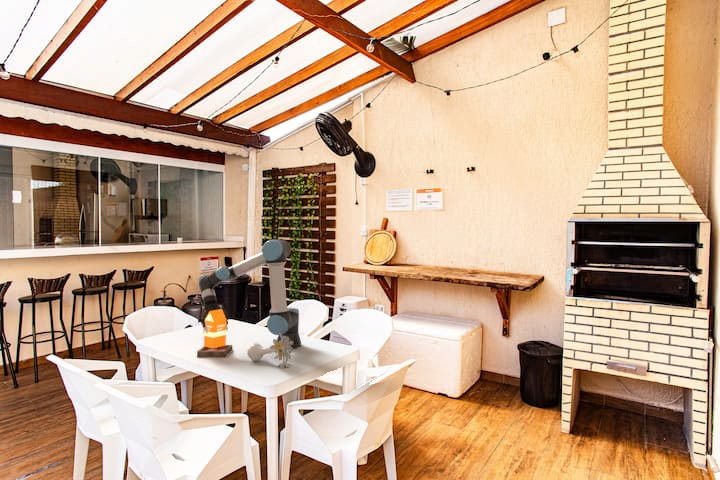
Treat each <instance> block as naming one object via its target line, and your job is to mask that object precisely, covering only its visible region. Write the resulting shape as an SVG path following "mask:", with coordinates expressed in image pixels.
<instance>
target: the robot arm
mask: <svg viewBox="0 0 720 480" xmlns="http://www.w3.org/2000/svg"><path fill="white" fill-rule="evenodd" d="M291 248H292V247H291V245H290V243H289V242H288V241H287V240H285V239H269V240H268V241H267V240H266V242H265V243H264V244H263V246H262V248H261V252H259V253H258V254H255V255H253V256H251V257H249V258H247V259H245V260H243V261H241V262H238V263H237V264H234V265H232V266H230V267H225V266H220V267H218V268H217V269H216V270H214V271H213V272H212V273H211V274H203V275H200V276H199V278H198V286H199V289H200V293H201V294H200V295H201V298H202V304H203V305H199V307H198V311H199V313H198V319H197V323H201V326H202V328H205V332H206V333H208V327H207V322H206V321H205V319H206V317H207V315H208V313H209V312H210V311H214V310H219V309H222V310H223V313H224V315H225V318H226V325H225V331H226V332H228V329H229V327H228V324H229V320H230V318H231V316H230V313H229V312H228V311H227V309H226V308H225V304H224V303H221V304H218V303H219V302H218V299H217V296H216V295H217V294H216V291H215V287H217V286H218V285H220V284H222V282H223V283H224V282H228V281H234V280H236V279H238V278H239V277H240V276H243V275H245V274H247V273H249V272H252V271H253V270H254V271H255V270H256V269H258V268H260V267H262V266H265V265H266V266H268V271H269V272H268V273H269V275H268V277H269V287H270V288H269V289H270V304H271V308H270V310H269V318H268V320H267V322H266V326H267V327H266V328H267V330H268V331H269V332H270V333H271V334H272V335H275V336H277V338H276V340H277V342H279V341H280V340H281V337H280V335H279V333H280V334H282V337H283V336H286V337H289V342H290V341H293V342H294V343H293V344H292V345H290V346H291V347H292V349H293V350H294V349H298V348H300V347H301V346H302V340H301V337H300V334H299V333H300V332H299V329H300V328H299V324H300V310H299V308H295V307H287V306H288V303H287V291H286V290H287V289H286V276H285V265H286V263H287V258H288V257H289V256H290V254H291V250H292V249H291ZM204 310H205V313H204V316H203V317H202V315H203V311H204ZM284 341H285V340H283V343H284Z"/></svg>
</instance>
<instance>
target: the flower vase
mask: <svg viewBox="0 0 720 480" xmlns="http://www.w3.org/2000/svg"><path fill="white" fill-rule="evenodd" d="M279 335H280V337H281V340H280V341H279V342H277V338H276V339H275V338H273V340H272V342H273V345H270V346H269V347H264V346H263V345H261V344H260V343H253V344H251V346H250V347H249V348H248V349H247V356H248V358H249V359H250V360H252V362H259V361H261V360H262V359H263V358H264V356H265V355H268V354H272V353H273V354H276V355H275V356H274V358H273V359H275V360H276V359H278V361H282V362H281V363H279V364H277V365H276V367H279V369H284V368H285V367H286V368H291V364H290V363H288V361H289V359H292V357H293V356H292V353H293V352H294V351H295V350H294V348H293V349H292V347H291V346H290V345H292V344H293V343H294V342H293V341H290V342H289V337H286V336H283V337H282V334H280V333H279ZM283 340H285V341H284V343H283ZM282 359H283V360H282Z"/></svg>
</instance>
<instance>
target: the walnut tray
mask: <svg viewBox="0 0 720 480" xmlns="http://www.w3.org/2000/svg"><path fill="white" fill-rule="evenodd" d="M232 351H233V344H226V345H224V346H220V347H217V348H209V347H205V346H204V345H203V346H202V347H201V348H200V349H198V350H197V352H196V354H197V355H196V357H197V358H226V357H227V356H228V355H229V354H230V353H231V352H232Z"/></svg>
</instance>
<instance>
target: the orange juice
mask: <svg viewBox="0 0 720 480" xmlns="http://www.w3.org/2000/svg"><path fill="white" fill-rule="evenodd" d="M205 321H206V322H207V327H208V333H206V332H205V329H204V333H203V338H204V339H203V340H204V341H203V347H204V346H205V347H209V348H217V347H220V346H224V345H227V341H226V340H227V331H225V325H226V318H225V315H224V313H223V310H222V309H220V308H219V310H214V311H210V312H208V314H207V316H206V319H205Z"/></svg>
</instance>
